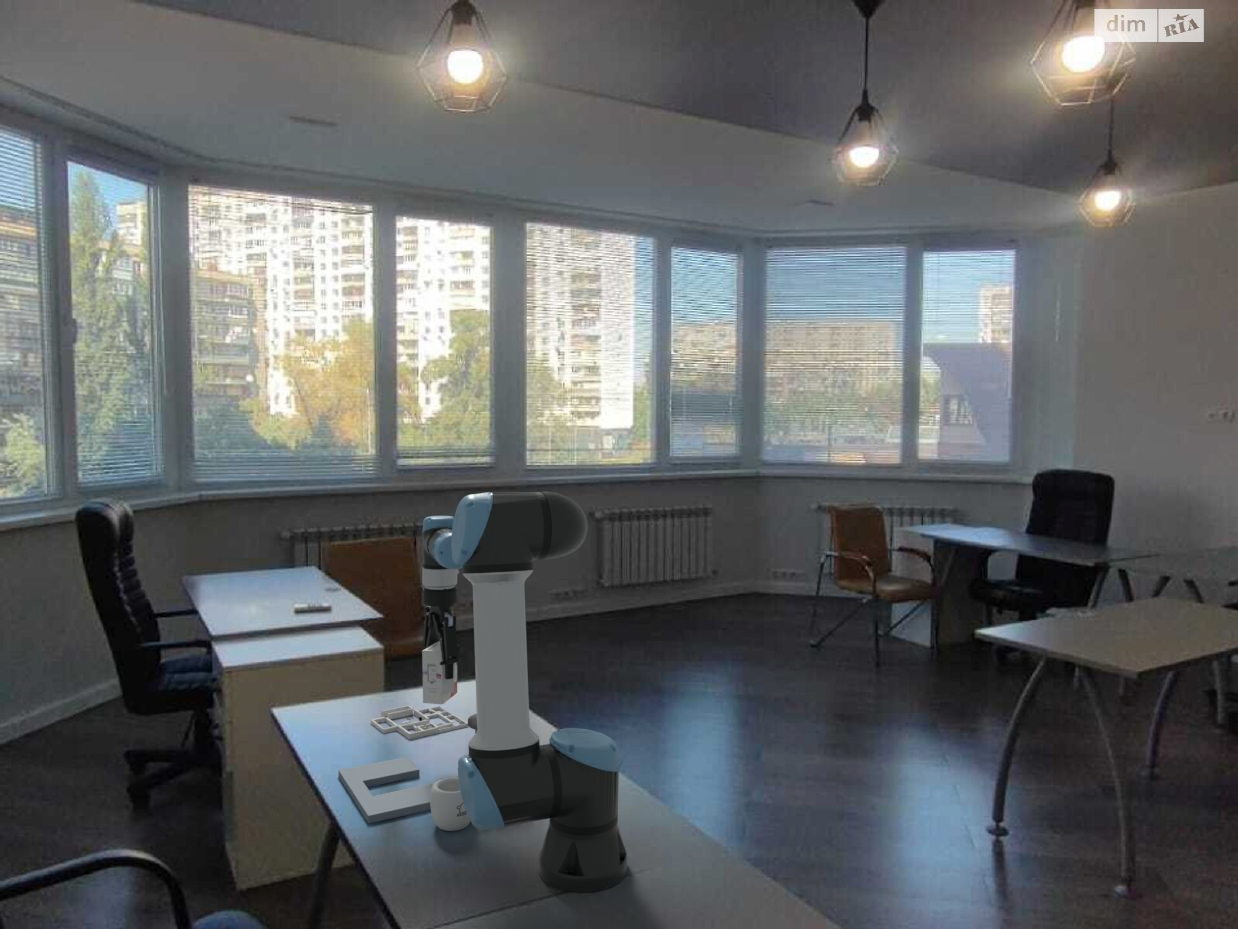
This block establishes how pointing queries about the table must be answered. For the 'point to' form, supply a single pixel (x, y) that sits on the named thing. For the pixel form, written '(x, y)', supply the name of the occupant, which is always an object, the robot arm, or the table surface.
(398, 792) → the notched board
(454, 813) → the mug
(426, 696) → the ink cartridge box
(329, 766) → the table surface
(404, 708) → the floor plan model
